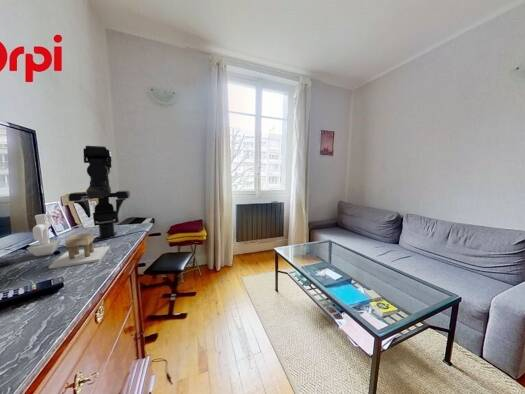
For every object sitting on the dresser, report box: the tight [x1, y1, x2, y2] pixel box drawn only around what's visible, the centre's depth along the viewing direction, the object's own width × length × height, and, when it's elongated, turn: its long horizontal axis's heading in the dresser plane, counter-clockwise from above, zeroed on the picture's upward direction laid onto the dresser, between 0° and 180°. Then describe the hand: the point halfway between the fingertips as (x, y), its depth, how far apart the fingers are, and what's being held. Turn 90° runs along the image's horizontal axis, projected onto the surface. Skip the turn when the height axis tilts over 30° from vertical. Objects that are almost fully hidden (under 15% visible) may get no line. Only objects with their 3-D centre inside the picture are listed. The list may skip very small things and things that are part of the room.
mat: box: [48, 245, 110, 270], centre depth 73 cm, size 13×13×1 cm
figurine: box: [26, 213, 62, 257], centre depth 76 cm, size 7×9×15 cm
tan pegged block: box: [64, 232, 95, 259], centre depth 73 cm, size 6×6×7 cm
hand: (103, 216), depth 82 cm, fingers open, 9 cm apart
